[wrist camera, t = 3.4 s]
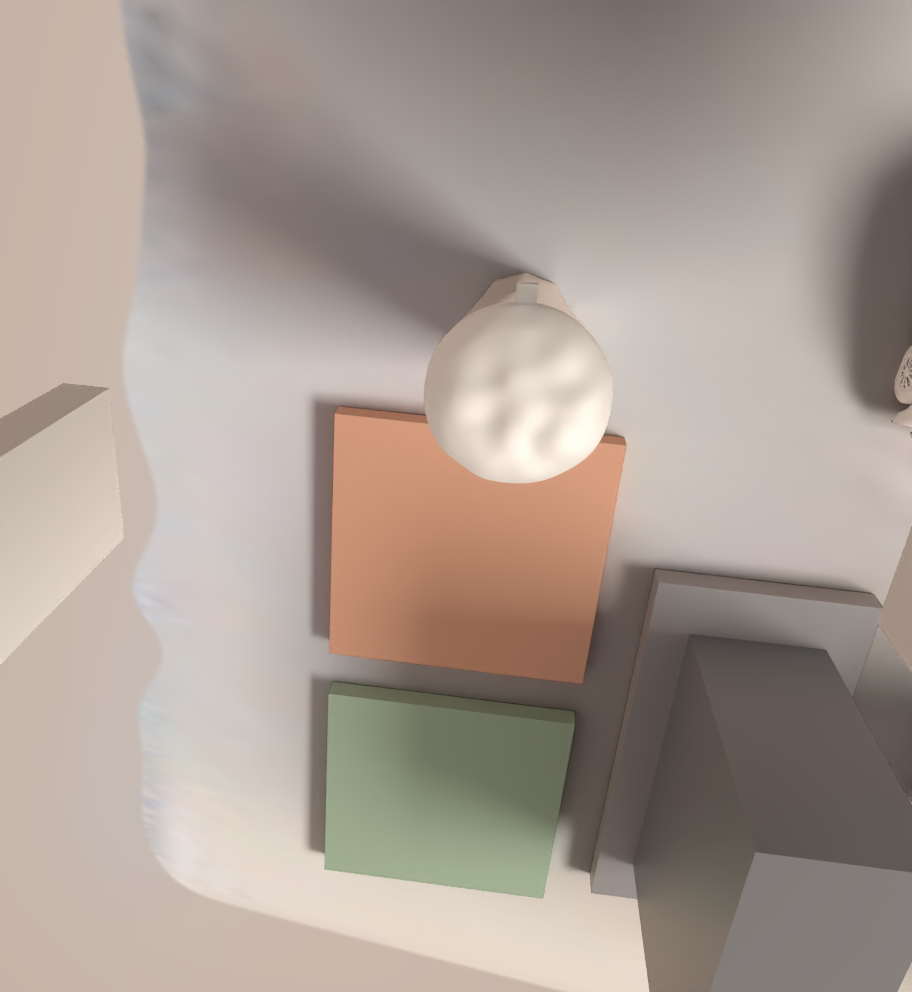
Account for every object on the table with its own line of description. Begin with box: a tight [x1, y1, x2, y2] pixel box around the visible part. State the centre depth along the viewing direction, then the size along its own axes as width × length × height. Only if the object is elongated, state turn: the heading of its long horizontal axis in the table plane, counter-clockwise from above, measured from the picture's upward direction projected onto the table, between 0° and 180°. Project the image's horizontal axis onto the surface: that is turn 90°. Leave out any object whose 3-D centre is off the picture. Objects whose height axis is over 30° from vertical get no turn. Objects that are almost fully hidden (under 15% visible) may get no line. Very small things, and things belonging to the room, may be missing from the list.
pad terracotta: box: [329, 406, 626, 684], centre depth 30 cm, size 10×10×1 cm
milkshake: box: [424, 273, 613, 483], centre depth 22 cm, size 5×5×10 cm
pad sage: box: [324, 682, 575, 899], centre depth 35 cm, size 10×10×1 cm
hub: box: [590, 569, 912, 992], centre depth 29 cm, size 16×8×11 cm, turn 175°
